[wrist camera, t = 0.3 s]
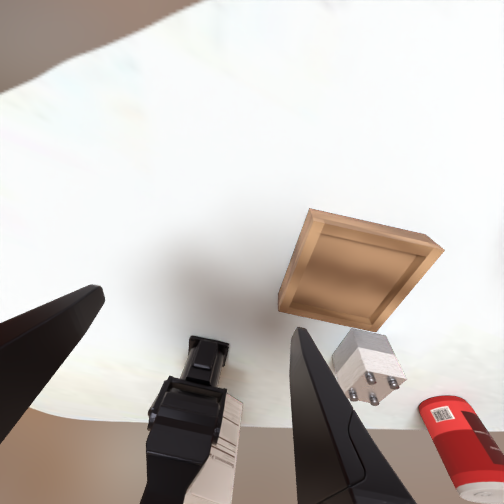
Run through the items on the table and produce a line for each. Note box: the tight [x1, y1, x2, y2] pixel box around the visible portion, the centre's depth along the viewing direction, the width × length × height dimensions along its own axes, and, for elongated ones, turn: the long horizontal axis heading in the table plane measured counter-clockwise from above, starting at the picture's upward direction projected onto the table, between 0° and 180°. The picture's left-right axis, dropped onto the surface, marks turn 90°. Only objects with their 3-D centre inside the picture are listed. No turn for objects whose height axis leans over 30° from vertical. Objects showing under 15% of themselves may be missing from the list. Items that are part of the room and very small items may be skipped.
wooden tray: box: [278, 208, 445, 332], centre depth 23 cm, size 12×12×3 cm
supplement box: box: [183, 393, 243, 504], centre depth 40 cm, size 9×9×15 cm
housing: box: [332, 328, 407, 406], centre depth 29 cm, size 7×5×7 cm
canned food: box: [419, 396, 504, 504], centre depth 34 cm, size 8×8×11 cm
